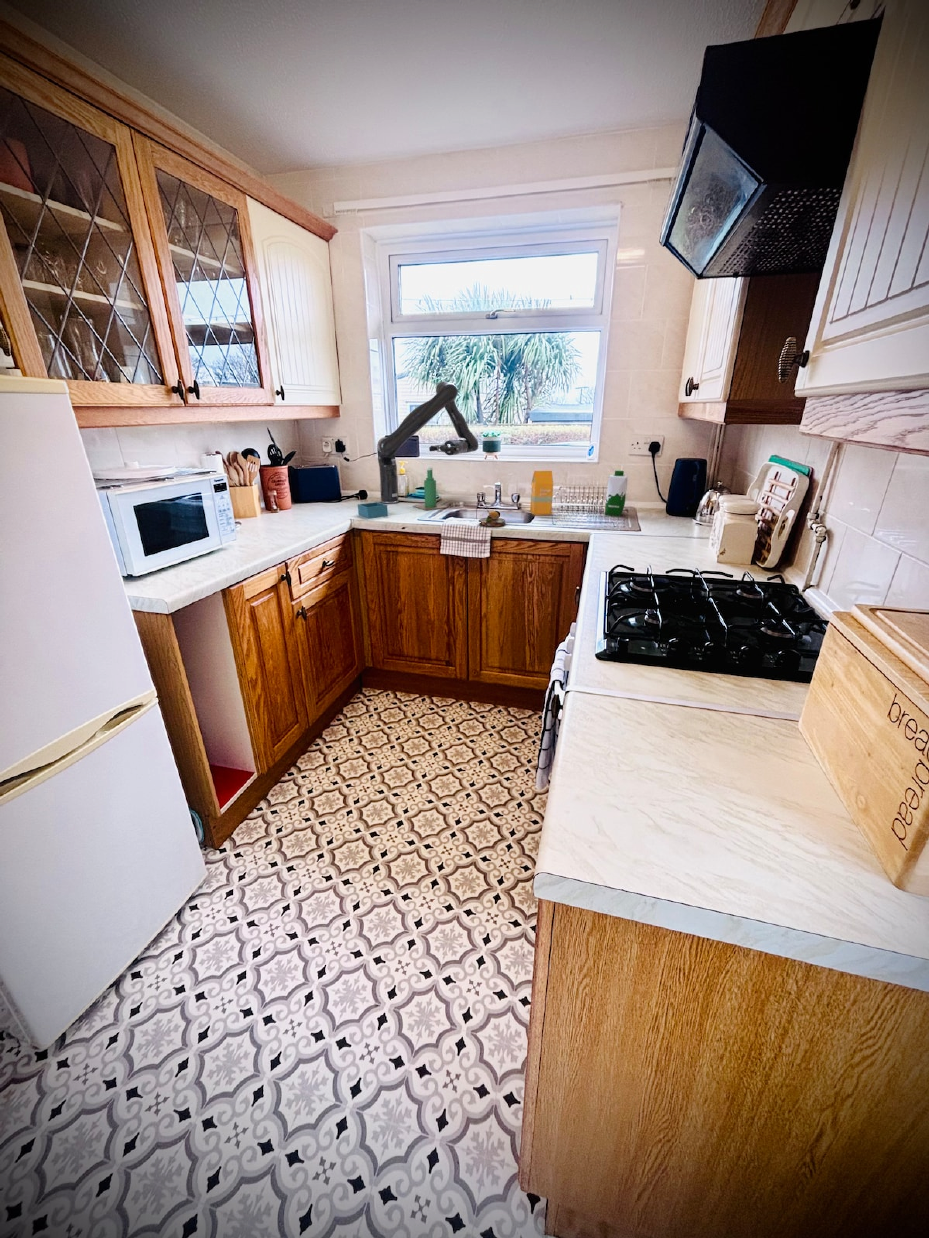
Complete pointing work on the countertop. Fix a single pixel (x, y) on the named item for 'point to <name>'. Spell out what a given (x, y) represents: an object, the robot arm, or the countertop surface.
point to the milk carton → (616, 493)
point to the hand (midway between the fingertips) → (437, 449)
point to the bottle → (430, 489)
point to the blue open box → (372, 510)
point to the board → (430, 507)
